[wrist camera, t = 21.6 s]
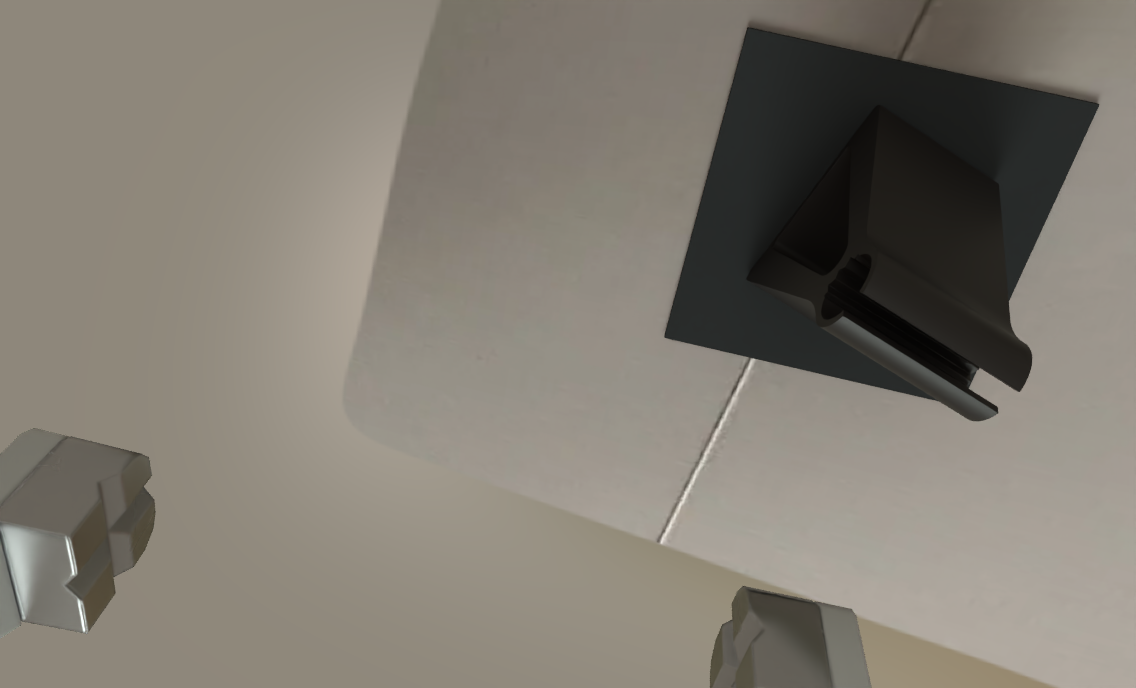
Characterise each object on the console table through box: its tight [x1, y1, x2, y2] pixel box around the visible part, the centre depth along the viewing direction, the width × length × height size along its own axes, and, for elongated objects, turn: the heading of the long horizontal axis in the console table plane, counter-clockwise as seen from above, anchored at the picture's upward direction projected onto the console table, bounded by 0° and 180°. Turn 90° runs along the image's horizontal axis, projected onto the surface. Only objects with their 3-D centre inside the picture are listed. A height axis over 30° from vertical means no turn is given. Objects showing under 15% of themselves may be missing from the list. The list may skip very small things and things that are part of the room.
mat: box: [665, 27, 1099, 401], centre depth 38 cm, size 14×14×1 cm
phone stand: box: [747, 104, 1032, 421], centre depth 32 cm, size 9×6×12 cm, turn 149°
